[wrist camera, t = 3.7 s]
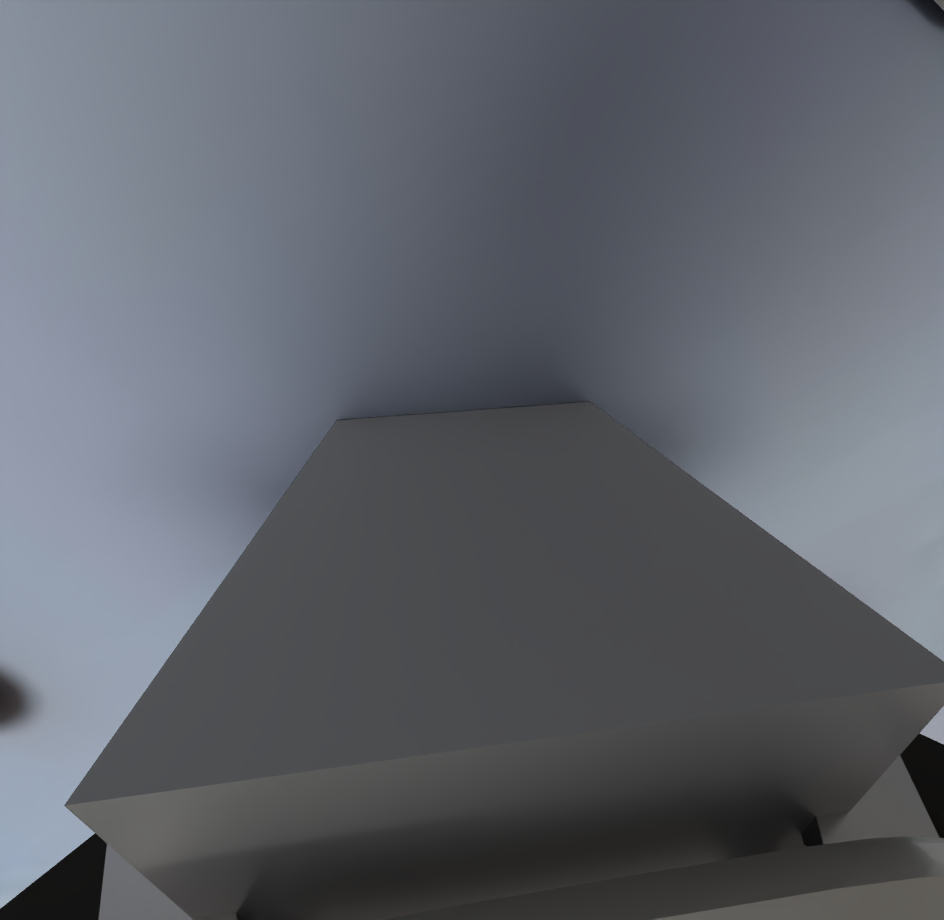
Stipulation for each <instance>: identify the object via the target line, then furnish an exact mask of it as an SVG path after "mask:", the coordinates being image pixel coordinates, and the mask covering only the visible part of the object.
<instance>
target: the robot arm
mask: <svg viewBox="0 0 944 920" xmlns="http://www.w3.org/2000/svg"><path fill="white" fill-rule="evenodd" d="M934 1H935V2H936V3H937V4H938V5H939V6H940V7H941V8H942V9H943V10H944V0H934ZM801 835H802V839H803V844H804V845H806V846H808V847H803V848H796V849H789V850H782V851H776V852H770V853H764V854H758V855H752V856H746V857H740V858H734V859H728V860H722V861H716V862H710V863H704V864H697V865H691V866H685V867H679V868H673V869H667V870H661V871H655V872H649V873H643V874H638V875H632V876H626V877H620V878H614V879H608V880H603V881H597V882H591V883H585V884H579V885H573V886H568V887H562V888H556V889H550V890H544V891H539V892H533V893H527V894H521V895H516V896H510V897H504V898H498V899H492V900H487V901H481V902H475V903H469V904H464V905H458V906H453V907H447V908H441V909H436V910H430V911H424V912H419V913H413V914H408V915H402V916H396V917H391V918H385V919H380V920H944V745H943V744H941V743H939V742H937V741H934V740H932V739H930V738H928V737H926V736H924V735H921V734H918V735H917V736H916V737H915V738H914V740H913V741H912V742H911V743H910V744H909V745H908V746H907V747H906V749H905V750H904V751H903V752H902V753H901V754H900V755H899V756H898V758H897V759H896V760H895V761H894V762H893V763H892V764H891V765H890V767H889V768H888V769H887V770H886V771H885V772H884V773H883V774H882V776H881V777H880V778H879V779H878V780H877V781H876V782H875V783H874V785H873V786H872V787H871V788H870V789H869V790H868V791H867V792H866V794H865V795H864V796H863V797H862V798H861V799H860V800H859V801H858V803H857V804H856V805H855V806H854V807H853V808H852V809H851V810H850V811H844V812H838V813H832V814H826V815H820V816H816V817H815V818H814V819H813V820H812V822H811V823H810V824H809V825H808V827H807V828H806V829H805V830H804V832H803V833H802V834H801ZM0 920H243V918H242V917H241V916H240V915H239V914H238V913H237V912H232V913H226V914H220V915H213V916H207V917H201V918H195V919H192V918H191V917H190V916H189V915H187V914H186V913H185V912H184V911H183V910H182V909H181V908H180V907H178V906H177V905H176V904H175V903H174V902H173V901H172V900H170V899H169V898H168V897H167V896H166V895H165V894H164V893H163V892H161V891H160V890H159V889H158V888H157V887H156V886H155V885H153V884H152V883H151V882H150V881H149V880H148V879H147V878H146V877H144V876H143V875H142V874H141V873H140V872H139V871H138V870H137V869H135V868H134V867H133V866H132V865H131V864H130V863H129V862H127V861H126V860H125V859H124V858H123V857H122V856H121V855H120V854H118V853H117V852H116V851H115V850H114V849H113V848H112V847H110V846H109V845H108V844H107V843H106V842H105V841H104V840H103V839H101V838H100V837H99V836H98V835H97V834H96V833H95V834H94V835H93V836H91V837H90V838H89V839H88V840H86V841H85V842H84V843H83V844H81V845H80V846H79V847H78V848H76V849H75V850H74V851H72V852H71V853H70V854H69V855H67V856H66V857H65V858H64V859H62V860H61V861H60V862H59V863H57V864H56V865H55V866H54V867H52V868H51V869H50V870H49V871H47V872H46V873H45V874H44V875H42V876H41V877H40V878H39V879H37V880H36V881H35V882H34V883H32V884H31V885H30V886H29V887H27V888H26V889H25V890H24V891H22V892H21V893H20V894H18V895H17V896H16V897H15V898H13V899H12V900H11V901H10V902H8V903H7V904H6V905H5V906H3V907H2V908H1V909H0Z"/></svg>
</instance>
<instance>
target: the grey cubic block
mask: <svg viewBox="0 0 944 920" xmlns="http://www.w3.org/2000/svg"><path fill="white" fill-rule="evenodd" d="M943 706H944V662H943V661H942V660H941V659H939V658H938V657H937V656H935V655H934V654H933V653H931V652H930V651H928V650H927V649H926V648H924V647H923V646H922V645H920V644H919V643H918V642H916V641H915V640H914V639H912V638H911V637H909V636H908V635H907V634H905V633H904V632H903V631H901V630H900V629H899V628H897V627H896V626H894V625H893V624H892V623H890V622H889V621H888V620H886V619H885V618H884V617H882V616H881V615H879V614H878V613H877V612H875V611H874V610H873V609H871V608H870V607H869V606H867V605H866V604H865V603H863V602H862V601H860V600H859V599H858V598H856V597H855V596H854V595H852V594H851V593H850V592H848V591H847V590H845V589H844V588H843V587H841V586H840V585H839V584H837V583H836V582H835V581H833V580H832V579H830V578H829V577H828V576H826V575H825V574H824V573H822V572H821V571H820V570H818V569H817V568H816V567H814V566H813V565H811V564H810V563H809V562H807V561H806V560H805V559H803V558H802V557H801V556H799V555H798V554H796V553H795V552H794V551H792V550H791V549H790V548H788V547H787V546H786V545H784V544H783V543H781V542H780V541H779V540H777V539H776V538H775V537H773V536H772V535H771V534H769V533H768V532H767V531H765V530H764V529H762V528H761V527H760V526H758V525H757V524H756V523H754V522H753V521H752V520H750V519H749V518H747V517H746V516H745V515H743V514H742V513H741V512H739V511H738V510H737V509H735V508H734V507H732V506H731V505H730V504H728V503H727V502H726V501H724V500H723V499H722V498H720V497H719V496H717V495H716V494H715V493H713V492H712V491H711V490H709V489H708V488H707V487H705V486H704V485H703V484H701V483H700V482H698V481H697V480H696V479H694V478H693V477H692V476H690V475H689V474H688V473H686V472H685V471H683V470H682V469H681V468H679V467H678V466H677V465H675V464H674V463H673V462H671V461H670V460H668V459H667V458H666V457H664V456H663V455H662V454H660V453H659V452H658V451H656V450H655V449H654V448H652V447H651V446H649V445H648V444H647V443H645V442H644V441H643V440H641V439H640V438H639V437H637V436H636V435H634V434H633V433H632V432H630V431H629V430H628V429H626V428H625V427H624V426H622V425H621V424H619V423H618V422H617V421H615V420H614V419H613V418H611V417H610V416H609V415H607V414H606V413H605V412H603V411H602V410H600V409H599V408H598V407H596V406H595V405H594V404H592V403H591V402H580V403H566V404H552V405H539V406H525V407H511V408H498V409H484V410H470V411H456V412H443V413H429V414H415V415H402V416H388V417H374V418H361V419H347V420H336V422H335V423H334V425H333V426H332V427H331V429H330V430H329V432H328V433H327V434H326V436H325V437H324V439H323V440H322V442H321V443H320V444H319V446H318V447H317V449H316V450H315V451H314V453H313V454H312V456H311V457H310V458H309V460H308V461H307V463H306V464H305V466H304V467H303V468H302V470H301V471H300V473H299V474H298V475H297V477H296V478H295V480H294V481H293V483H292V484H291V485H290V487H289V488H288V490H287V491H286V492H285V494H284V495H283V497H282V498H281V500H280V501H279V502H278V504H277V505H276V507H275V508H274V509H273V511H272V512H271V514H270V515H269V517H268V518H267V519H266V521H265V522H264V524H263V525H262V526H261V528H260V529H259V531H258V532H257V533H256V535H255V536H254V538H253V539H252V541H251V542H250V543H249V545H248V546H247V548H246V549H245V550H244V552H243V553H242V555H241V556H240V558H239V559H238V560H237V562H236V563H235V565H234V566H233V567H232V569H231V570H230V572H229V573H228V575H227V576H226V577H225V579H224V580H223V582H222V583H221V584H220V586H219V587H218V589H217V590H216V592H215V593H214V594H213V596H212V597H211V599H210V600H209V601H208V603H207V604H206V606H205V607H204V609H203V610H202V611H201V613H200V614H199V616H198V617H197V618H196V620H195V621H194V623H193V624H192V625H191V627H190V628H189V630H188V631H187V633H186V634H185V635H184V637H183V638H182V640H181V641H180V642H179V644H178V645H177V647H176V648H175V650H174V651H173V652H172V654H171V655H170V657H169V658H168V659H167V661H166V662H165V664H164V665H163V667H162V668H161V669H160V671H159V672H158V674H157V675H156V676H155V678H154V679H153V681H152V682H151V684H150V685H149V686H148V688H147V689H146V691H145V692H144V693H143V695H142V696H141V698H140V699H139V701H138V702H137V703H136V705H135V706H134V708H133V709H132V710H131V712H130V713H129V715H128V716H127V717H126V719H125V720H124V722H123V723H122V725H121V726H120V727H119V729H118V730H117V732H116V733H115V734H114V736H113V737H112V739H111V740H110V742H109V743H108V744H107V746H106V747H105V749H104V750H103V751H102V753H101V754H100V756H99V757H98V759H97V760H96V761H95V763H94V764H93V766H92V767H91V768H90V770H89V771H88V773H87V774H86V776H85V777H84V778H83V780H82V781H81V783H80V784H79V785H78V787H77V788H76V790H75V791H74V792H73V794H72V795H71V797H70V798H69V800H68V801H67V802H66V804H65V805H64V806H65V807H66V808H67V809H69V810H70V811H71V812H72V813H73V814H74V815H75V816H77V817H78V818H79V819H80V820H81V821H82V822H83V823H84V824H86V825H87V826H88V827H89V828H90V829H91V830H92V831H93V832H95V833H96V834H97V835H98V836H99V837H100V838H101V839H103V840H104V841H105V842H106V843H107V844H108V845H109V846H110V847H112V848H113V849H114V850H115V851H116V852H117V853H118V854H120V855H121V856H122V857H123V858H124V859H125V860H126V861H127V862H129V863H130V864H131V865H132V866H133V867H134V868H135V869H137V870H138V871H139V872H140V873H141V874H142V875H143V876H144V877H146V878H147V879H148V880H149V881H150V882H151V883H152V884H153V885H155V886H156V887H157V888H158V889H159V890H160V891H161V892H163V893H164V894H165V895H166V896H167V897H168V898H169V899H170V900H172V901H173V902H174V903H175V904H176V905H177V906H178V907H180V908H181V909H182V910H183V911H184V912H185V913H186V914H187V915H189V916H190V917H191V918H192V919H195V918H201V917H207V916H213V915H220V914H226V913H232V912H237V913H238V914H239V915H240V916H241V917H242V918H243V920H380V919H385V918H391V917H396V916H402V915H408V914H413V913H419V912H424V911H430V910H436V909H441V908H447V907H453V906H458V905H464V904H469V903H475V902H481V901H487V900H492V899H498V898H504V897H510V896H516V895H521V894H527V893H533V892H539V891H544V890H550V889H556V888H562V887H568V886H573V885H579V884H585V883H591V882H597V881H603V880H608V879H614V878H620V877H626V876H632V875H638V874H643V873H649V872H655V871H661V870H667V869H673V868H679V867H685V866H691V865H697V864H704V863H710V862H716V861H722V860H728V859H734V858H740V857H746V856H752V855H758V854H764V853H770V852H776V851H782V850H789V849H796V848H803V847H808V846H806V845H804V844H803V839H802V835H801V834H802V833H803V832H804V830H805V829H806V828H807V827H808V825H809V824H810V823H811V822H812V820H813V819H814V818H815V817H816V816H820V815H826V814H832V813H838V812H844V811H850V810H851V809H852V808H853V807H854V806H855V805H856V804H857V803H858V801H859V800H860V799H861V798H862V797H863V796H864V795H865V794H866V792H867V791H868V790H869V789H870V788H871V787H872V786H873V785H874V783H875V782H876V781H877V780H878V779H879V778H880V777H881V776H882V774H883V773H884V772H885V771H886V770H887V769H888V768H889V767H890V765H891V764H892V763H893V762H894V761H895V760H896V759H897V758H898V756H899V755H900V754H901V753H902V752H903V751H904V750H905V749H906V747H907V746H908V745H909V744H910V743H911V742H912V741H913V740H914V738H915V737H916V736H917V735H918V734H919V733H920V732H921V731H922V729H923V728H924V727H925V726H926V725H927V724H928V723H929V722H930V720H931V719H932V718H933V717H934V716H935V715H936V714H937V713H938V711H939V710H940V709H941V708H942V707H943Z"/></svg>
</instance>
